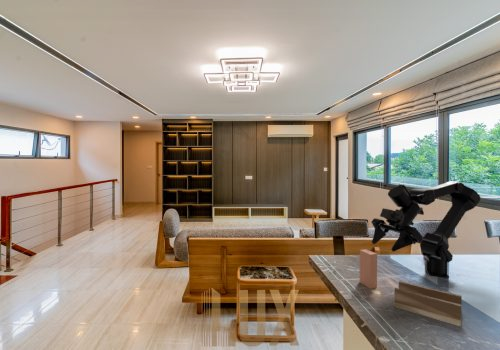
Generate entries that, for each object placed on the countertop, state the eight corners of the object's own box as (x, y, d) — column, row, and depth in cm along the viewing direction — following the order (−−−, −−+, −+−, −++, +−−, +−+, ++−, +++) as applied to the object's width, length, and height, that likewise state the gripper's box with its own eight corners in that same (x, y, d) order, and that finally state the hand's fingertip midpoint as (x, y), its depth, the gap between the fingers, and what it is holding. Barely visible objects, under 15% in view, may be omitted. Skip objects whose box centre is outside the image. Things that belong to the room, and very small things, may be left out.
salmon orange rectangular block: (365, 281, 99) (366, 249, 98) (376, 287, 93) (377, 253, 93) (359, 282, 98) (359, 249, 97) (370, 288, 92) (370, 254, 92)
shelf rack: (399, 294, 88) (400, 279, 88) (461, 310, 78) (461, 294, 78) (393, 306, 80) (393, 290, 80) (460, 326, 70) (461, 308, 70)
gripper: (375, 198, 107) (352, 227, 104) (416, 204, 89) (390, 239, 86) (390, 216, 110) (368, 245, 107) (433, 225, 92) (408, 260, 89)
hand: (382, 246), depth 97 cm, fingers open, 9 cm apart
